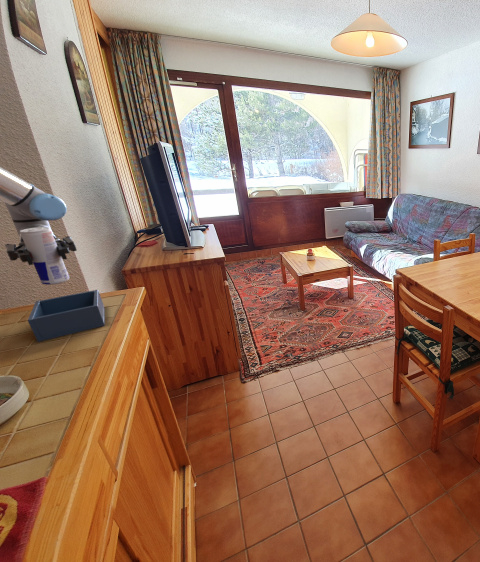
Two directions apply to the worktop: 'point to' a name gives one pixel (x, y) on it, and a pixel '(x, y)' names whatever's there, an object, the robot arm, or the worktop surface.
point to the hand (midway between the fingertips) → (46, 257)
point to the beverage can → (45, 255)
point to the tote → (67, 315)
